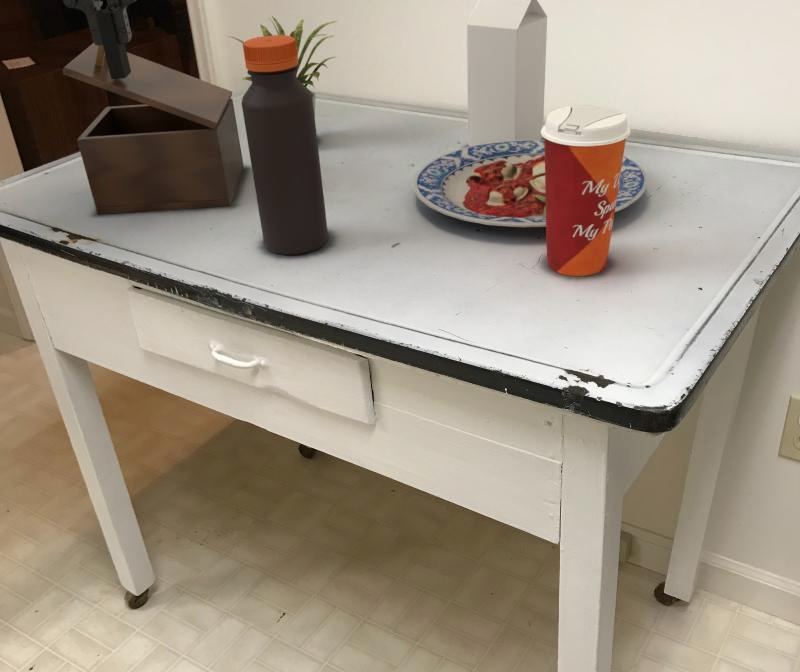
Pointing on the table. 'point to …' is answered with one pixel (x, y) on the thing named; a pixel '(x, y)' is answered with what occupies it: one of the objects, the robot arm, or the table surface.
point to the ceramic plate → (503, 183)
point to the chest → (160, 160)
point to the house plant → (297, 36)
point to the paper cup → (582, 185)
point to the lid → (153, 86)
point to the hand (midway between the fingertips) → (121, 75)
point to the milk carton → (506, 71)
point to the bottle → (283, 147)
